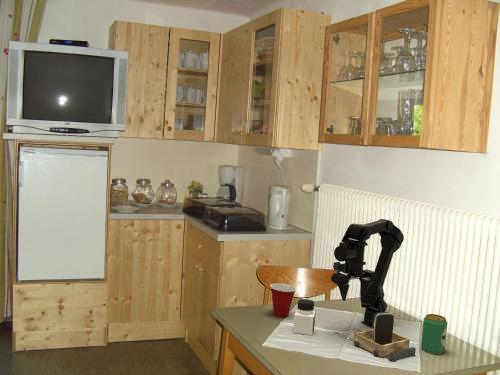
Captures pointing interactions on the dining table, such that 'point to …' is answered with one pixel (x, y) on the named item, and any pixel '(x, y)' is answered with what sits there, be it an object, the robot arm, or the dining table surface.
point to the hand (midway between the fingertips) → (352, 299)
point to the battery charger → (383, 328)
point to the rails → (396, 354)
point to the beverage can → (434, 334)
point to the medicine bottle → (304, 317)
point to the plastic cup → (282, 298)
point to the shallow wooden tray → (366, 342)
